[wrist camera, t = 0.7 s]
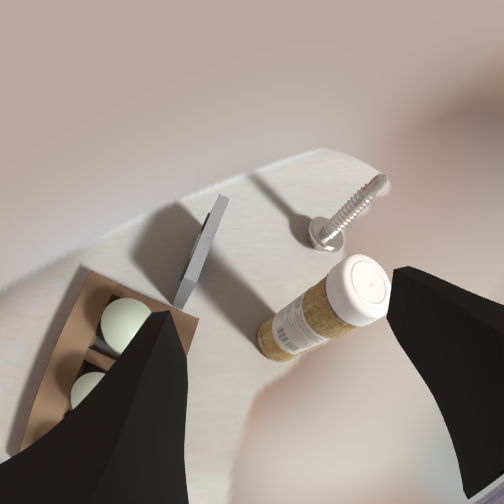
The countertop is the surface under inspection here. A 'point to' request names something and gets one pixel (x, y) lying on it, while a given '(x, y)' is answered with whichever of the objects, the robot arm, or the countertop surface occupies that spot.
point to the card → (200, 252)
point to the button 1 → (122, 322)
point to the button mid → (84, 387)
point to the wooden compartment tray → (87, 351)
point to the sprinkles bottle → (328, 309)
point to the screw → (342, 217)
